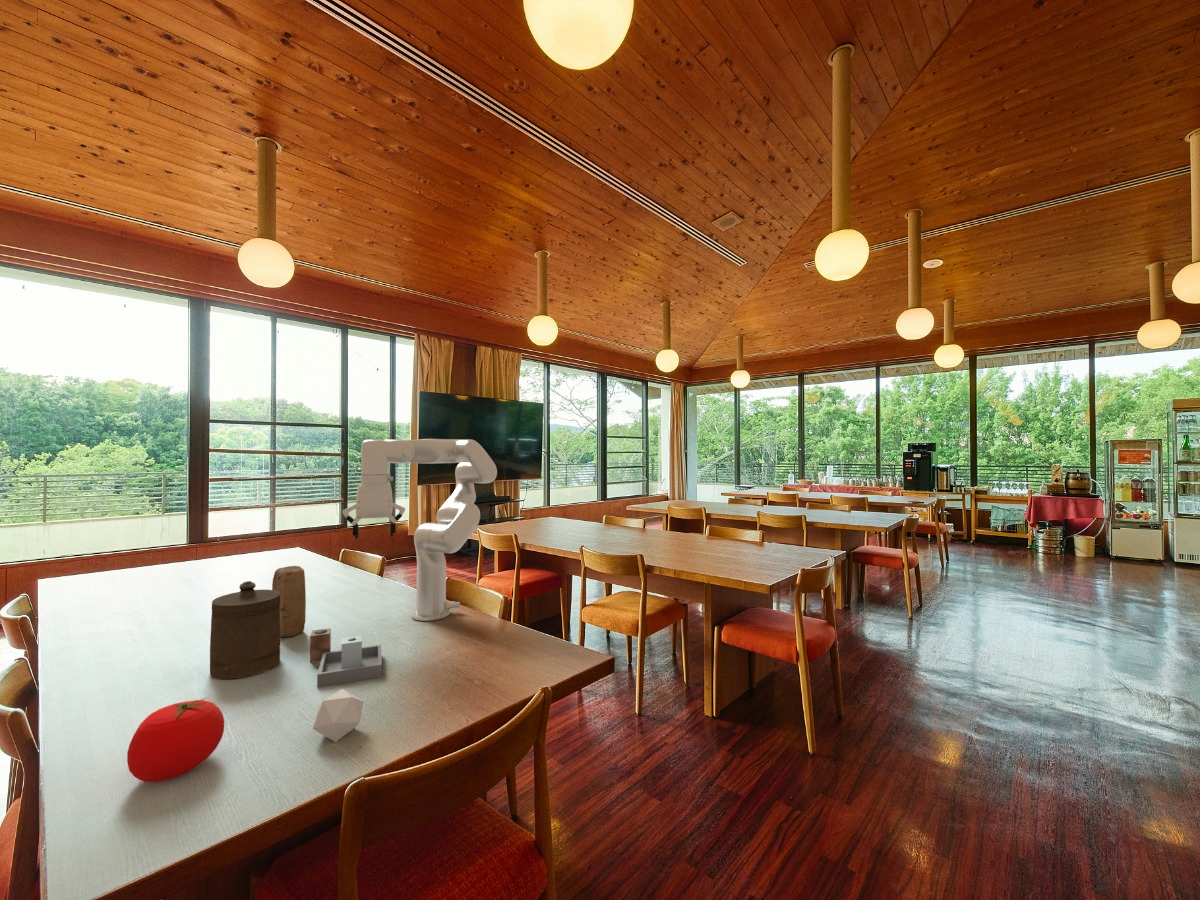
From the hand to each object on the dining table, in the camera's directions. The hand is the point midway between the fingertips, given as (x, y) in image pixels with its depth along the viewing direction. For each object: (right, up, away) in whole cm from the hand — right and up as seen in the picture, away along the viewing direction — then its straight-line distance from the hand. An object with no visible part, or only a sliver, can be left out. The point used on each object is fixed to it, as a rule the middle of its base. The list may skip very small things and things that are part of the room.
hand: (374, 536), depth 150 cm
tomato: (-6, -30, -63) cm, 70 cm away
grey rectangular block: (+5, -29, -23) cm, 38 cm away
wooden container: (-23, -30, -22) cm, 44 cm away
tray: (+5, -30, -23) cm, 38 cm away
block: (-28, -30, +3) cm, 41 cm away
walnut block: (-8, -30, -15) cm, 35 cm away
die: (+17, -30, -52) cm, 62 cm away
